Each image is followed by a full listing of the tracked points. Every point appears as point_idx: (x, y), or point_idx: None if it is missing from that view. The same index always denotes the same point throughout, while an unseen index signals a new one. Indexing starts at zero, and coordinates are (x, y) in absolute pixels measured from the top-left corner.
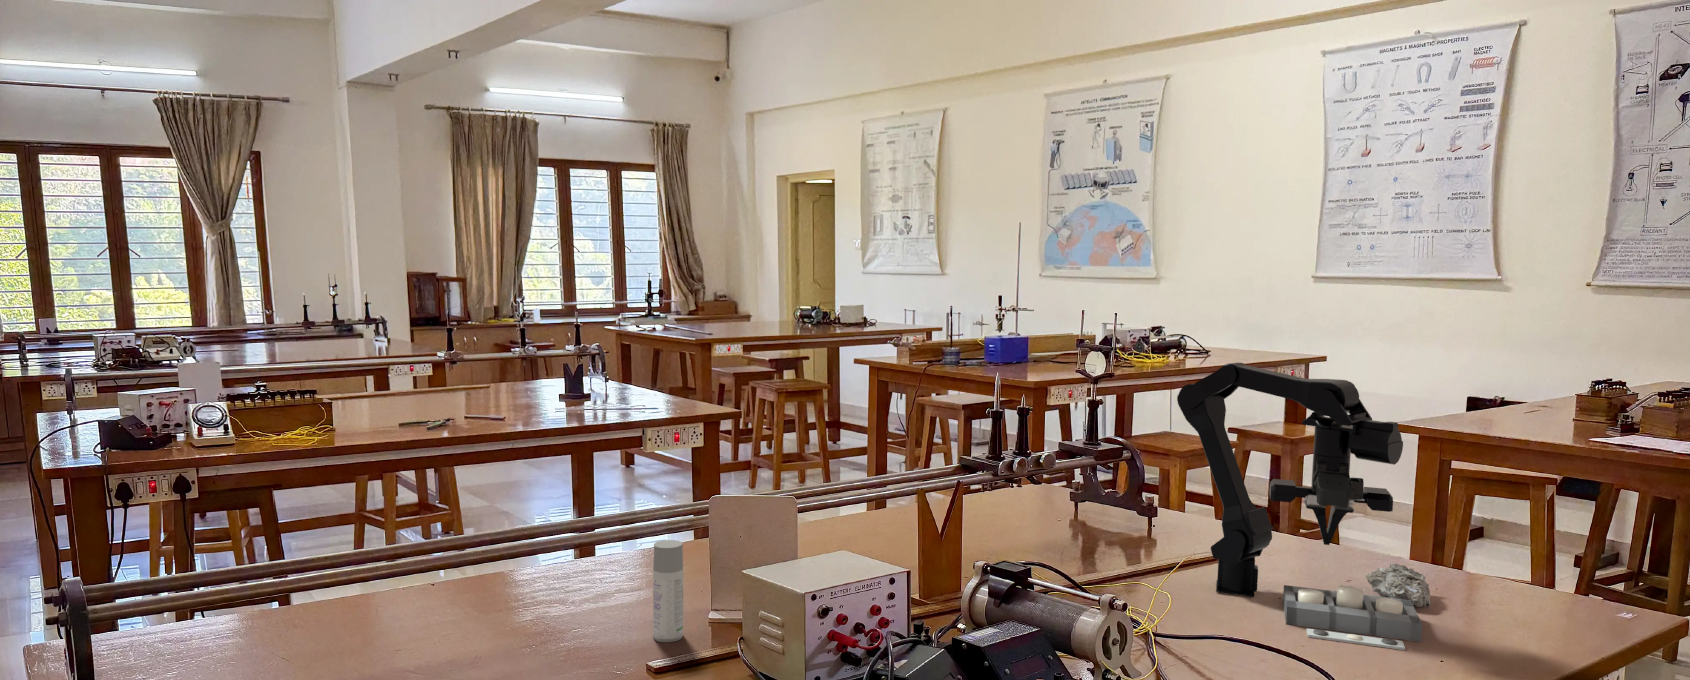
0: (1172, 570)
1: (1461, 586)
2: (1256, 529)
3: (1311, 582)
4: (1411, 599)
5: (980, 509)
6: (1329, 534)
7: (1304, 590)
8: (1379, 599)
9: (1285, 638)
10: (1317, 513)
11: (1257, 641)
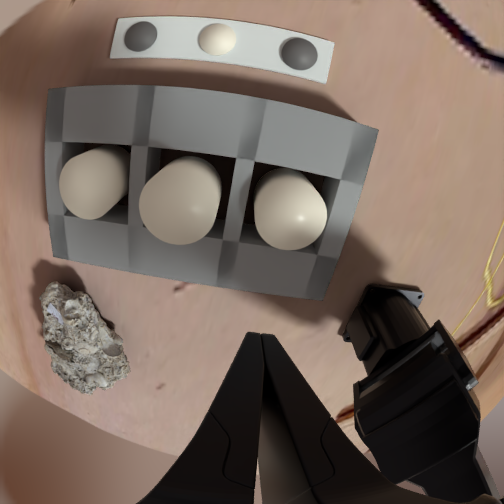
0: None
1: (35, 368)
2: (443, 400)
3: (221, 375)
4: (59, 288)
5: None
6: (255, 374)
7: (304, 233)
8: (105, 202)
9: (384, 36)
10: (390, 496)
11: (437, 27)
